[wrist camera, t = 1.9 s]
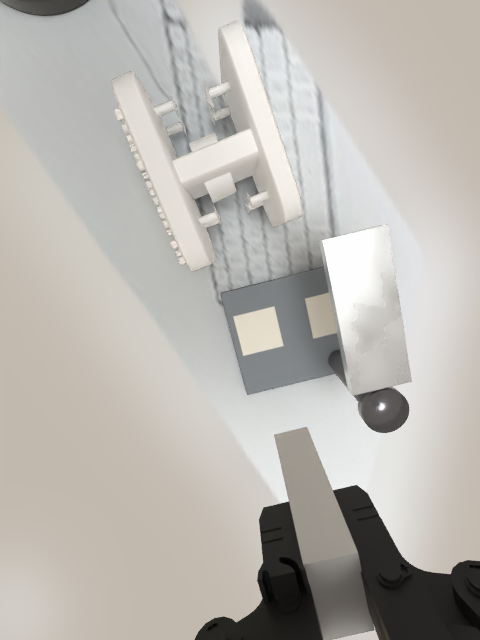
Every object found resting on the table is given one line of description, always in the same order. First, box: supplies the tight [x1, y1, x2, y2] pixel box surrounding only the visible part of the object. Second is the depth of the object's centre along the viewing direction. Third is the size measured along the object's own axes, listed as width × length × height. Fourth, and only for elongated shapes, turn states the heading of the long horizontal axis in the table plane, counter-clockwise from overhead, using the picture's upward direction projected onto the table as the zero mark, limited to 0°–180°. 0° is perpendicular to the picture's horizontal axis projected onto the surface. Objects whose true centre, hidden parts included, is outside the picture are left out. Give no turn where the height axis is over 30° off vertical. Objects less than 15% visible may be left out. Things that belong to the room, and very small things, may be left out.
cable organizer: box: [112, 21, 302, 271], centre depth 31 cm, size 15×11×12 cm
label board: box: [221, 267, 363, 402], centre depth 34 cm, size 12×14×12 cm
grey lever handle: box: [319, 224, 411, 433], centre depth 27 cm, size 16×5×1 cm, turn 14°
